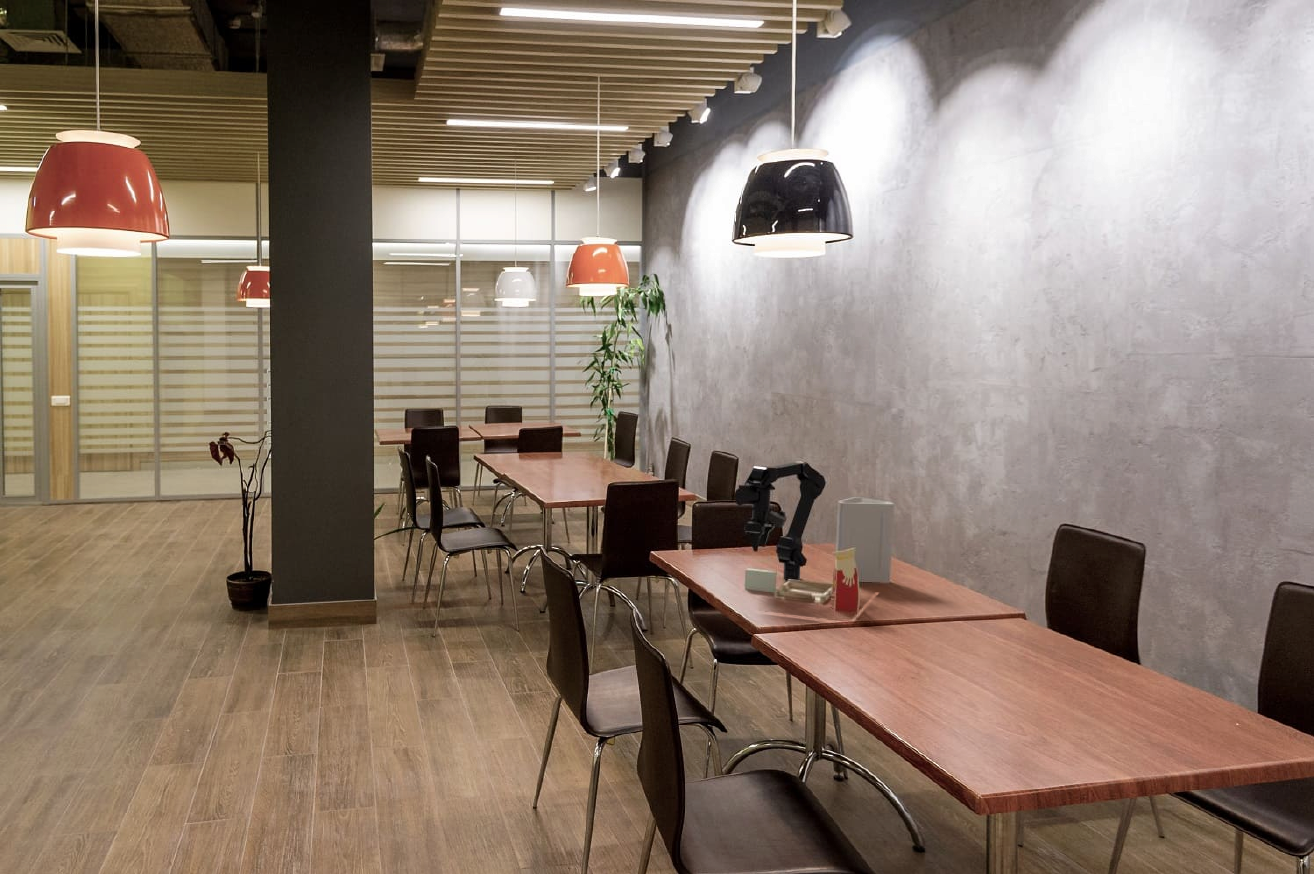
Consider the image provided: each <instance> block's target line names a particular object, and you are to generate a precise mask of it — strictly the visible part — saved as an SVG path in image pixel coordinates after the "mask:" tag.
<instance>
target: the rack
mask: <svg viewBox="0 0 1314 874" xmlns="http://www.w3.org/2000/svg"><path fill="white" fill-rule="evenodd" d="M832 586H833V583H829V582H826V583H825V582H818V581H809V580H793V579H788V581H786V582H785V583H784V584H782V585H780V586H779V587H778V588H776V590H775V591H774V592H773V596H774V597H773V598H775V599H776V598H777V599H782V600H783V599H784V600H786V599H785V593H786V591H798V592H809V593H812V596H815V600H814V601H813V602H812V603H815V604H817V603H818V604H824V603H826V601H828V600H829V599H830V597H831V596H832ZM789 600H790V601H792V599H789ZM798 601H800V600H798ZM800 602H801V601H800ZM806 602H808V601H806Z"/></svg>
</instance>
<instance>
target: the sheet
mask: <svg viewBox="0 0 1314 874" xmlns="http://www.w3.org/2000/svg"><path fill="white" fill-rule="evenodd" d="M777 573H778V570H777V571H776V570H775V571H774V570H767V569H756V568H748V567H747V568H746V569H745V572H744V574H745V575H744V590H750V591H758V592H767V593H774V591H775V590H777Z"/></svg>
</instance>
